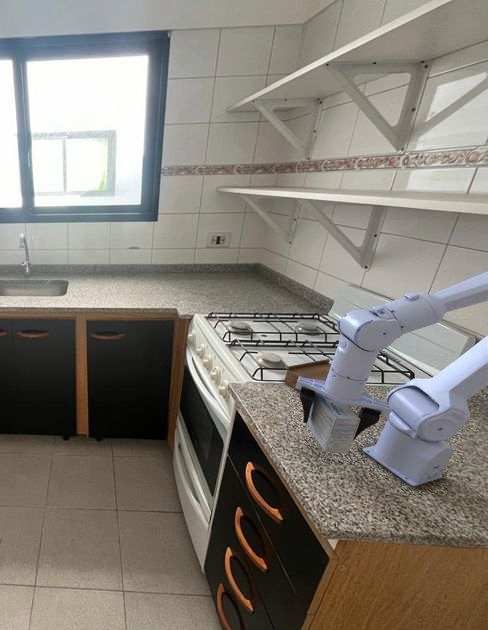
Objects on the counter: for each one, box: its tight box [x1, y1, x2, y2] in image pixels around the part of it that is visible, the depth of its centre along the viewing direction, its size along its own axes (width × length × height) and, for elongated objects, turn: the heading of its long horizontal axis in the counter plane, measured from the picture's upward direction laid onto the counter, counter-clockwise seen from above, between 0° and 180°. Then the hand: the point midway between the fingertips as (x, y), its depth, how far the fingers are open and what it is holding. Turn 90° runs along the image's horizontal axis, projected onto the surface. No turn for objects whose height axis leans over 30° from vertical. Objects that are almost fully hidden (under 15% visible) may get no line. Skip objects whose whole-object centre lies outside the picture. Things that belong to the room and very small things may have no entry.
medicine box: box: [305, 393, 360, 454], centre depth 69 cm, size 8×4×9 cm, turn 171°
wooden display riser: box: [283, 358, 332, 394], centre depth 93 cm, size 10×14×5 cm
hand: (328, 428), depth 70 cm, fingers closed on medicine box, 7 cm apart
